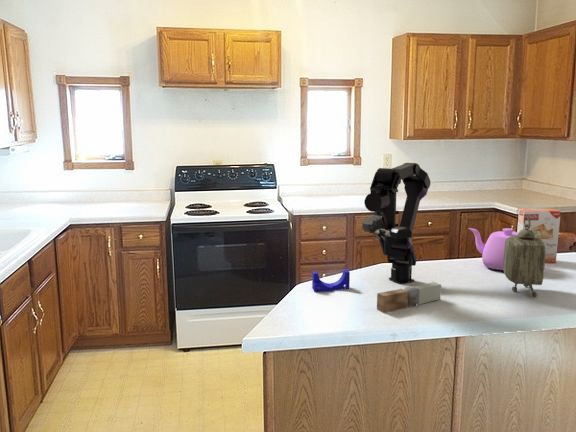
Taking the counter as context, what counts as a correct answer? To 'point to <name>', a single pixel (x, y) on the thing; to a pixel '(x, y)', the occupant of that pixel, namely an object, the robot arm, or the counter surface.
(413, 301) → the hinge base
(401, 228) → the robot arm
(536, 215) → the cracker box
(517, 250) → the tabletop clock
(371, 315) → the counter surface
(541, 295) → the counter surface
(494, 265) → the teapot
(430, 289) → the hinge leaf
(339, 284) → the cable clip
